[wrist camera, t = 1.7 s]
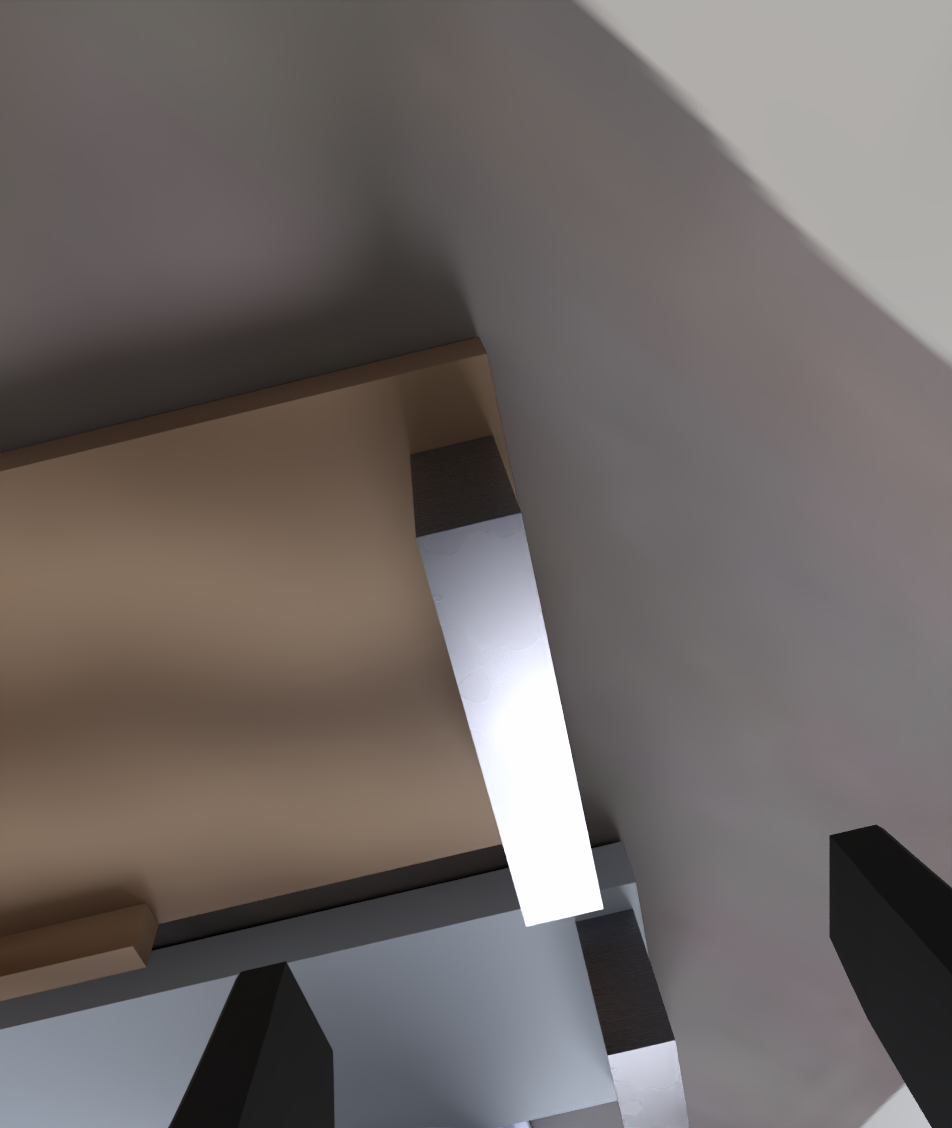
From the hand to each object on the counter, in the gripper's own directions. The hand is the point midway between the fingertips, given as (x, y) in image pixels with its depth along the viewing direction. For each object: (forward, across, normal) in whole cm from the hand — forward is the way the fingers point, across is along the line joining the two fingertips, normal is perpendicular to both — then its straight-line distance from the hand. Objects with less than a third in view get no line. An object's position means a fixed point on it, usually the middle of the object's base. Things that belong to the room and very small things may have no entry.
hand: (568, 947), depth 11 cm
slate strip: (+9, +9, +14) cm, 19 cm away
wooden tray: (+9, +10, 0) cm, 13 cm away
